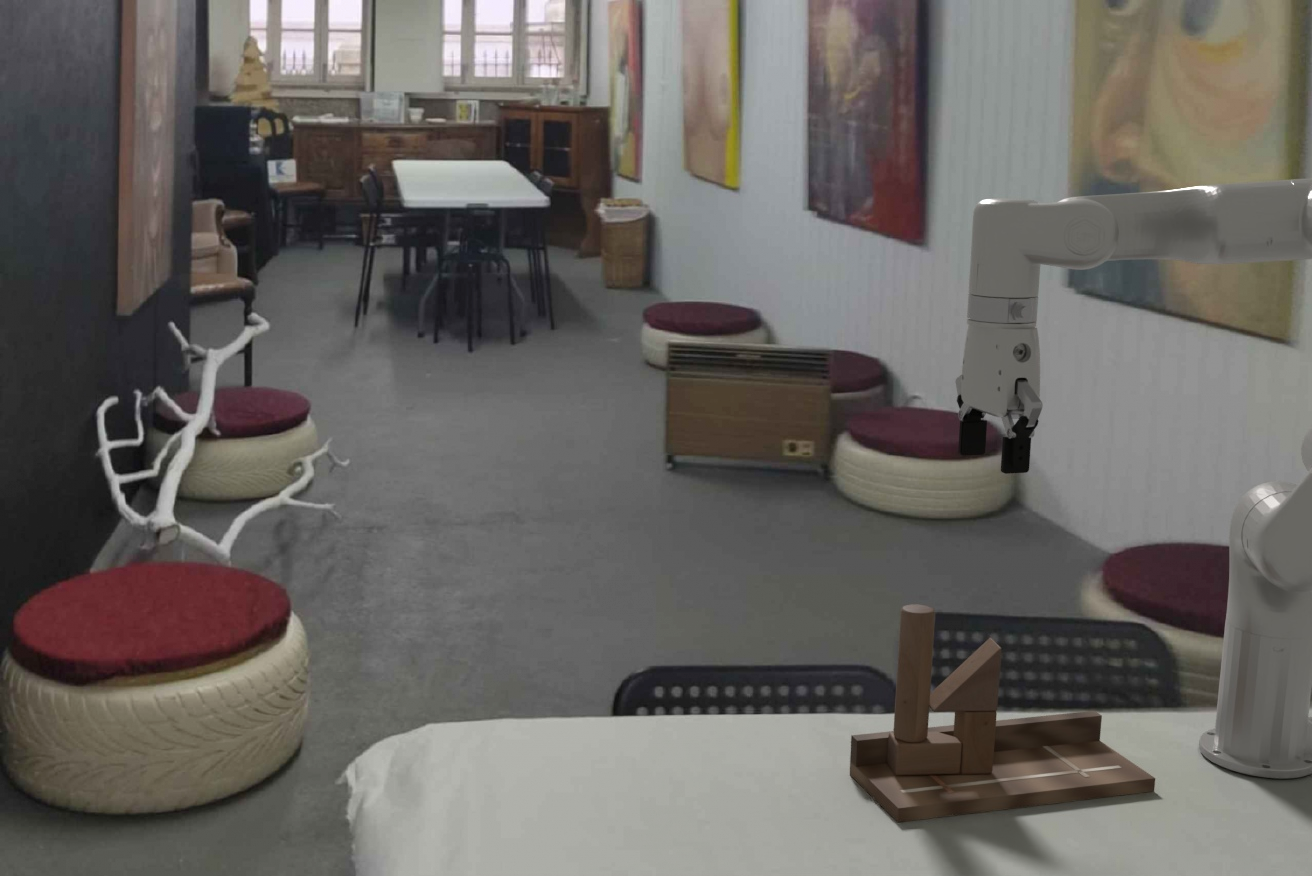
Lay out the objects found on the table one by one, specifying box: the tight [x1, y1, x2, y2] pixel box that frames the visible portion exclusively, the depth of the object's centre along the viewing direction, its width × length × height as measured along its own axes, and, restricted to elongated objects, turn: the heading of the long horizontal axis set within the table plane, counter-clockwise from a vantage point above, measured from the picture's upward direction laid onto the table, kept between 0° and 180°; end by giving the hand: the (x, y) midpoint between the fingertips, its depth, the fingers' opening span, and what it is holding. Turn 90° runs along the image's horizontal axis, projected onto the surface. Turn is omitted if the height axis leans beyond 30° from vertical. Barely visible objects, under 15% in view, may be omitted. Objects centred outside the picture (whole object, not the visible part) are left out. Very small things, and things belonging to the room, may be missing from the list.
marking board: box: [849, 710, 1156, 823], centre depth 160 cm, size 30×12×4 cm, turn 106°
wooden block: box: [887, 603, 1003, 775], centre depth 158 cm, size 4×11×18 cm, turn 96°
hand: (992, 463), depth 167 cm, fingers open, 9 cm apart
